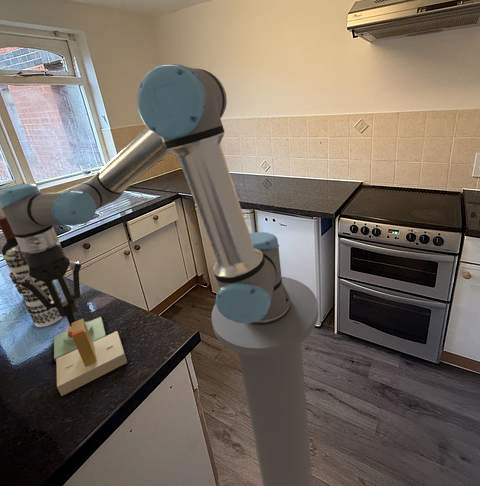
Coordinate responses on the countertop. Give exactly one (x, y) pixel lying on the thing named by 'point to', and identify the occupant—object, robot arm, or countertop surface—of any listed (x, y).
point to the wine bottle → (7, 236)
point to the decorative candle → (33, 304)
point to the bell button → (70, 331)
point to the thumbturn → (83, 342)
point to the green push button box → (67, 344)
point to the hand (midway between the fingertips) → (73, 322)
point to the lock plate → (78, 374)
